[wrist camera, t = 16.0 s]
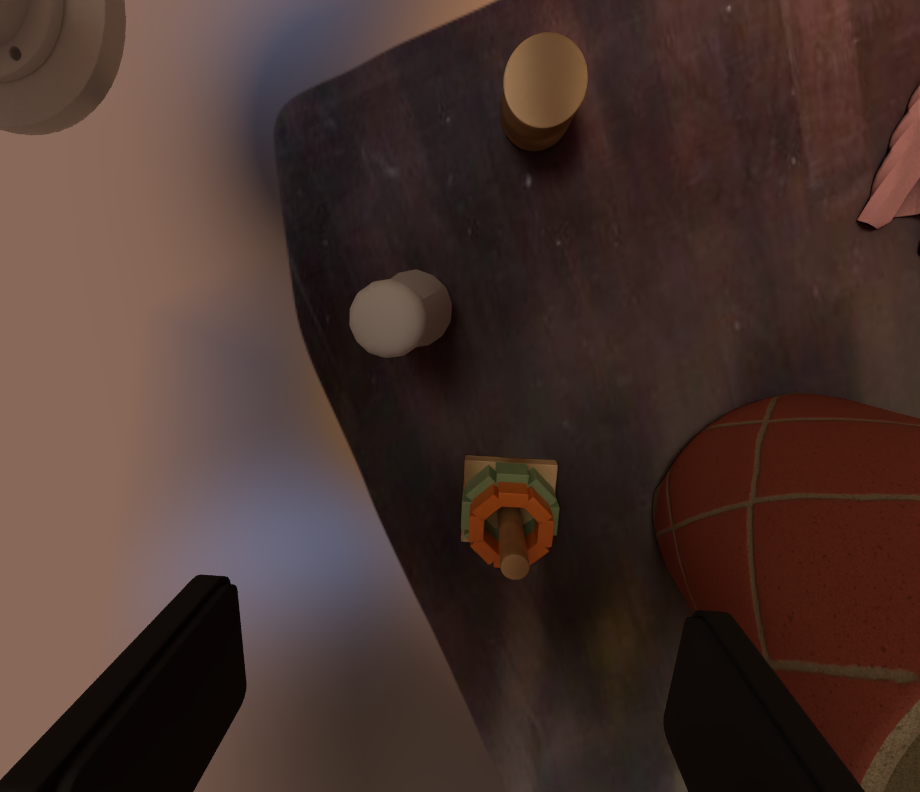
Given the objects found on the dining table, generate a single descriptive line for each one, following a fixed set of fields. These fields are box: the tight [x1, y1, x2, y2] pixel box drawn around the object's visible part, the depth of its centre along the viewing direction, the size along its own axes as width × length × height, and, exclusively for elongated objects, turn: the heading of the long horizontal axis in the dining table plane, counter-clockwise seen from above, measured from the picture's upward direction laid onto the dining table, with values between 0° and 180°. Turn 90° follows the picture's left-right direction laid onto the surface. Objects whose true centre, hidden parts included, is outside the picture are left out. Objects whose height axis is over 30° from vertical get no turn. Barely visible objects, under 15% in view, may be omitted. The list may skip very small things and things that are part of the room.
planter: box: [652, 393, 920, 792], centre depth 27 cm, size 23×23×24 cm
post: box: [461, 455, 558, 580], centre depth 35 cm, size 8×8×10 cm
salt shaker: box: [350, 270, 452, 358], centre depth 29 cm, size 6×6×13 cm
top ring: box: [468, 482, 554, 568], centre depth 35 cm, size 7×7×2 cm
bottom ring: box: [461, 462, 560, 541], centre depth 37 cm, size 8×8×2 cm
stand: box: [500, 32, 588, 151], centre depth 29 cm, size 5×5×5 cm
